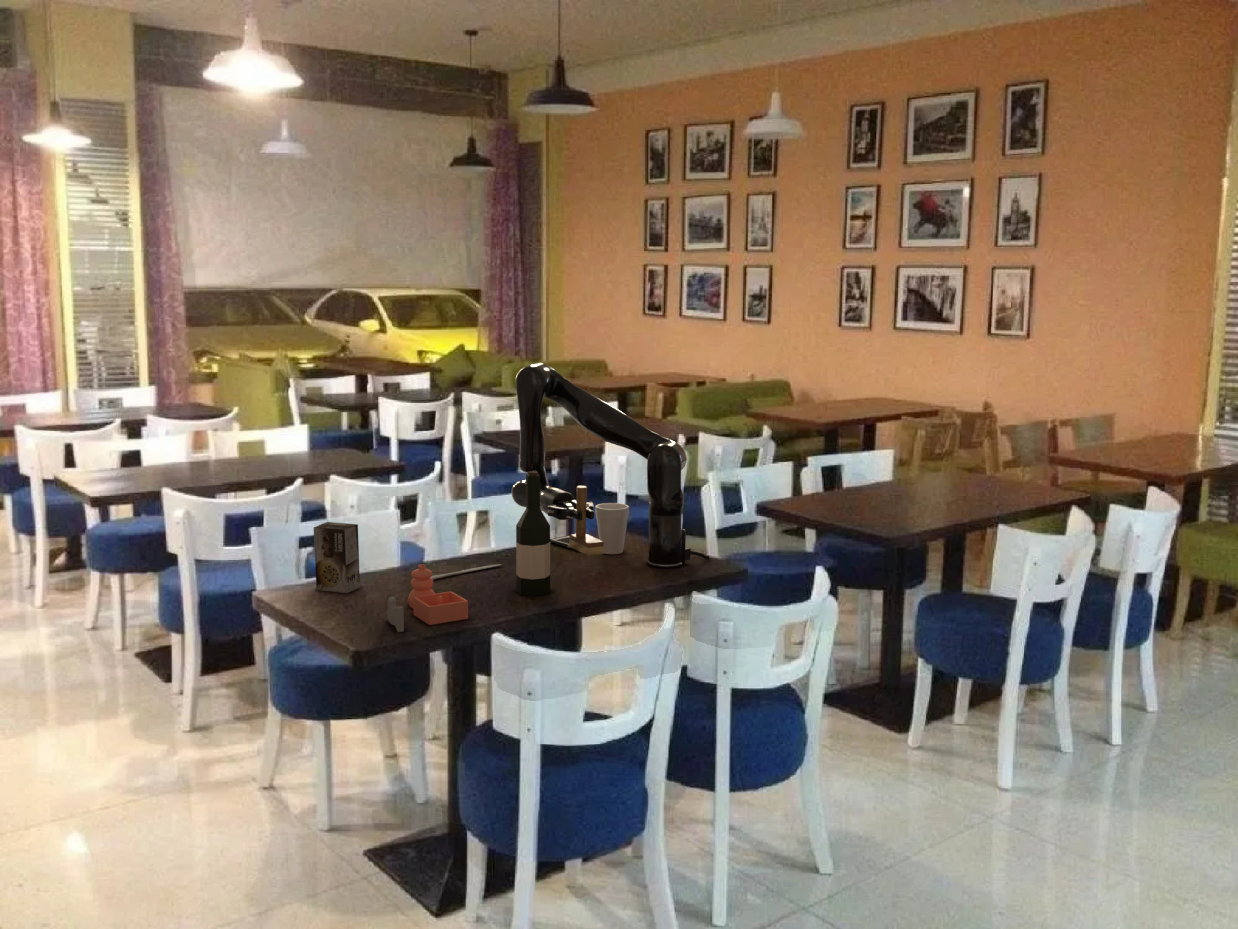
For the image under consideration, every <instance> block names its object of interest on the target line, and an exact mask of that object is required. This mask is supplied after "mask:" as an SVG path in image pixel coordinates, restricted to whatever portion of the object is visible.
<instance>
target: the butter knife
mask: <svg viewBox="0 0 1238 929" xmlns="http://www.w3.org/2000/svg"><path fill="white" fill-rule="evenodd" d="M501 566H502V564H490V565H484V566H477V567H472V568H466V569H462V570H459V571H452V572H449V573H448V572H447V573H442V574H441V573H440V574H435V575H433V574H432V576H431V577H430V578H432V580H433V581H435V580H438V579H442V578H447V577H451V576H457V575H462V574H464V573H471V572H476V571H479V570H480V571H481V570H486V569H490V568H491V569H492V568H495V567H501Z"/></svg>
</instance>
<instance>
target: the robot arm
mask: <svg viewBox="0 0 1238 929" xmlns="http://www.w3.org/2000/svg"><path fill="white" fill-rule="evenodd" d="M515 389H516V390H515V391H516V397H517V405H518V406H517V407H518V417H519V430H520V431H519V462H518V463H519V469H520V471H522V472H523V473H527V474H528V472H529V471H537V472H538V474H539V475H540V509H541V511H542V513H545V514H546V515H547V516H548V517H551V518H552V517H553V518H554V519H557V520H559V521H566V520H569V519H571V520H573V519H575V520H576V519H577V520H582V519H583V513H582V512H581V511H579V510H576V498H575V497H576V496H574V495H573V493H570V492H568V491H565V490H563V489H561V488H558V487H553V486H551V485H550V483H549V480H548V476H547V471H546V465H545V464H546V438H545V432H544V428H543V423H542V404H543V399H547V400H549V401H550V402H553V403H555V404H557V405H558V406H560V407H561V408H563V409H564V410H565V411H566V412H567V413H568V414H569V416H571V417H572V418H573V420H574V421H575V422H576V423H577V424H578V425H579V426H580V427H581V428H583V429H584V430H585V431H587V432H588V433H590V434H592V435H594V436H595V437H596V438H598V439H600V440H602V441H605V442H606V443H610V444H612V445H616V446H618V447H621V448H625V449H627V450H630V451H632V452H634V453H636V454H637V455H640V456H641V457H643V459H645V460H646V461H647V462H646V487H647V489H646V490H647V493H648V540H647V541H648V542H647V544H648V545H647V546H648V547H647V551H646V556H647V565H649V566H651V567H655V568H661V569H671V568H678V567H681V566H683V565H686V561H690V560H691V555H692V556H693V555H694V556H698V557H701V558H703V559H705V560H709V559H710V556H709V555H706V554H704V553H702V552H698V551H691V548H689V547H687V546H686V542H687V541H686V539H687V538H686V536H687V530H686V529H684V491H683V489H682V471H683V469H685V467H686V465H687V460H688V456H687V454H686V450H685V449H684V448H683V446H682V445H680V444H679V442H676V441H674V440H672V439H670V438H667V437H666V436H664V435H661V434H659V433H657V432H654V431H653V430H651V429H649V428H647V427H645V426H644V425H642V424H641V423H640V422H638V421H636V420H635V419H634V418H632V417H631V416H629V415H627V414H626V413H624V412H622V411H621V410H620V409H618V408H617V407H615V406H613V405H612V404H611V403H608V402H607V401H604V400H603V399H601V398H599V397H597V396H595V395H594V394H592V393H590V392H589V391H587V390H585V389H583V388H582V387H579V386H577V385H575V384H574V383H573V382H571V381H570V380H569V379H567V378H566V377H564V376H563V375H562V374H561V373H559V372H558V371H556V370H555V369H554V368H552V367H551V366H550V365H548V364H546V363H542V362H534V363H532V364H528V365H526V366H524V367H522V368H521V369H520V370H519V371H518V372H517V374H516V377H515ZM511 497H512V500H513V502H515V504H517V506H519V507H522V508H526V479H523V480H518V481H517V482H515V483H514V484H513V486H512V487H511ZM594 518H595V511H594V502H593V501H588V502H587V505H586V519H588V520H594Z"/></svg>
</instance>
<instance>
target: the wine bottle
mask: <svg viewBox="0 0 1238 929" xmlns="http://www.w3.org/2000/svg"><path fill="white" fill-rule="evenodd" d="M525 480H526V507H525V510H524V511H523V513H522V514H521V517H520V518H519V519H518V521H517V523H516V524H515V539H516V540H515V558H516V559H515V562H516V563H515V567H516V569H515V572H516V573H515V574H516V577H515V578H516V579H515V580H516V581H515V582H516V590H515V591H516V592H517V593H518V594H519V595H523V596H530V597H536V596H545V595H547V594H548V593H551V542H550V539H551V525H550V522H549V521H548V520H547V517H546V516H545V514H544V512H543V511H541V509H540V475H539V474H538V472H537V471H529V472H528V473H527V474H525Z"/></svg>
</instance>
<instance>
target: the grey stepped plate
mask: <svg viewBox="0 0 1238 929" xmlns="http://www.w3.org/2000/svg"><path fill="white" fill-rule="evenodd" d="M396 604H397V600H396V597H395V596H389V597H387V612H386V617H387V620H388V622H389V624H390V625H392V626H394V627H395V630H396V632H397V633H403V632H405V614H404V611H405V610H404V609H405V608H404V605H396Z"/></svg>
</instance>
